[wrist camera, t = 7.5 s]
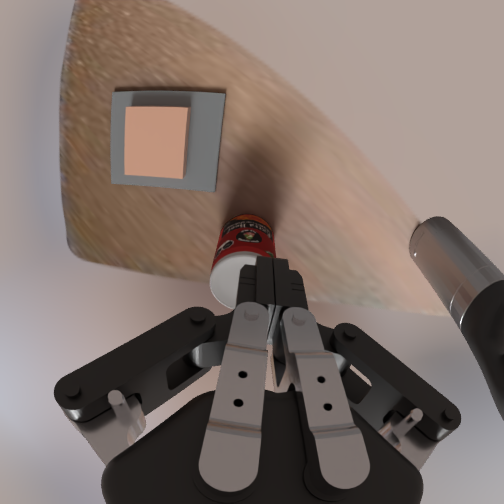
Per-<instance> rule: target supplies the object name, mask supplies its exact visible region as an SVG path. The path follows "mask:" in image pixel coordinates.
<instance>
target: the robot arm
mask: <svg viewBox="0 0 504 504" xmlns="http://www.w3.org/2000/svg"><path fill="white" fill-rule="evenodd" d="M409 250H410V255H411V258H412V259H413V261H414V262H415V263H416V265H417V266H418V268H419V269H420V270H421V272H422V273H423V275H424V276H425V278H426V279H427V280H428V282H429V283H430V285H431V286H432V288H433V289H434V290H435V292H436V293H437V295H438V296H439V298H440V299H441V301H442V302H443V304H444V306H445V307H446V309H447V310H448V312H449V313H450V315H451V316H452V318H453V319H454V321H455V323H456V324H457V326H458V327H459V329H460V331H461V332H462V334H463V336H464V337H465V339H466V341H467V343H468V345H469V347H470V349H471V350H472V352H473V354H474V356H475V358H476V360H477V362H478V364H479V366H480V368H481V370H482V372H483V374H484V377H485V379H486V382H487V384H488V387H489V389H490V392H491V394H492V397H493V399H494V402H495V404H496V407H497V409H498V411H499V413H500V415H501V416H502V419H503V420H504V275H503V273H501V271H500V270H499V269H498V268H497V267H496V266H495V265H494V264H493V263H492V262H491V261H490V260H489V259H488V258H487V257H486V256H485V255H484V254H483V253H482V252H481V251H480V250H479V249H478V248H477V247H476V246H475V245H474V244H473V243H472V242H471V241H470V240H469V239H468V238H467V237H466V236H465V235H464V234H463V233H462V232H461V231H460V230H459V229H458V228H456V227H455V226H454V225H453V224H452V223H451V222H450V221H449V220H447V219H446V218H444V217H432V218H430V219H428V220H426V221H424V222H423V223H422V224H421V225H420V226H419V227H418V228H417V229H416V231H415V232H414V234H413V236H412V238H411V241H410V247H409ZM303 285H304V284H303V279H302V276H301V275H300V274H299V273H298V271H296V270H289V265H288V259H281V258H274V257H273V258H272V257H266V256H258V255H257V257H256V262H255V265H248V264H245V265H244V266H243V267H242V268H241V269H240V274H239V282H238V289H237V296H236V306H235V309H234V310H233V311H232V312H230V313H228V314H225V315H221V316H214V314H213V313H212V312H211V311H210V310H208V309H206V308H203V307H191V308H188V309H186V310H184V311H182V312H181V313H179V314H177V315H175V316H173V317H172V318H170V319H168V320H166V321H165V322H163V323H161V324H159V325H158V326H156V327H154V328H152V329H150V330H148V331H147V332H145V333H143V334H141V335H140V336H138V337H136V338H134V339H132V340H130V341H129V342H127V343H125V344H123V345H121V346H120V347H118V348H116V349H114V350H112V351H111V352H109V353H107V354H105V355H103V356H101V357H99V358H97V359H96V360H94V361H92V362H90V363H88V364H86V365H85V366H83V367H81V368H79V369H77V370H75V371H73V372H72V373H70V374H68V375H66V376H64V377H62V378H61V379H60V380H59V381H58V382H57V384H56V385H55V388H54V397H55V400H56V401H57V403H58V404H59V406H60V407H61V408H62V410H63V411H64V414H65V415H66V417H67V418H68V419H69V421H70V422H71V423H72V424H73V426H74V427H75V428H76V429H77V430H78V431H79V432H80V433H81V434H82V435H83V436H84V437H85V438H86V440H87V441H88V443H89V444H90V445H91V447H92V448H93V449H94V451H95V452H96V454H97V455H98V456H99V457H100V459H101V460H102V462H103V463H104V464H105V465H106V468H105V470H104V472H103V475H102V480H101V488H102V493H103V496H104V499H105V502H106V504H420V501H421V498H422V495H423V480H422V476H421V474H420V472H419V470H420V469H421V467H422V466H423V465H424V463H425V462H426V460H427V459H428V458H429V456H430V455H431V453H432V451H433V450H434V448H435V447H436V445H437V444H438V443H439V442H440V441H442V440H443V439H444V438H445V437H447V436H448V435H449V434H450V433H452V432H453V431H454V430H455V429H456V428H458V426H459V425H460V423H461V414H460V412H459V410H458V408H457V407H456V406H455V405H454V404H452V402H450V401H449V400H448V399H447V398H446V397H444V396H443V395H442V394H440V393H439V392H438V391H437V390H436V389H434V388H433V387H432V386H431V385H429V384H428V383H427V382H426V381H425V380H423V379H422V378H421V377H420V376H418V375H417V374H416V373H415V372H413V371H412V370H411V369H410V368H408V367H407V366H406V365H405V364H403V363H402V362H401V361H400V360H398V359H397V358H396V357H395V356H393V355H392V354H391V353H390V352H388V351H387V350H386V349H385V348H383V347H382V346H381V345H380V344H378V343H377V342H376V341H375V340H373V339H372V338H371V337H370V336H368V335H367V334H366V333H365V332H363V331H362V330H361V329H359V328H358V327H357V326H355V325H353V324H350V323H341V324H338V325H337V326H336V327H335V329H331V328H328V327H325V326H322V325H320V324H318V323H317V322H316V319H315V317H314V315H313V314H312V313H311V312H310V311H308V305H307V300H306V294H305V289H304V286H303ZM267 344H271V345H273V350H272V354H271V358H270V359H271V368H272V376H273V385H274V392H272V391H268V390H265V380H266V368H267V357H268V350H266V345H267ZM351 364H352V365H353V366H354V367H355V368H356V369H357V370H359V371H360V372H361V373H362V374H363V375H364V376H366V377H367V378H368V379H369V380H370V382H371V385H372V387H371V386H370V385H368V384H367V383H366V382H365V381H364V380H362V379H361V378H360V377H359V376H358V375H357V374H356V373H354V372H353V371H352V370H351V369H350V366H351ZM219 365H221V369H220V373H219V378H218V382H217V387H216V390H214V391H209V392H206V393H203V394H201V395H199V396H197V397H195V398H193V399H192V400H191V401H189V402H188V403H187V404H186V405H184V406H183V407H182V408H180V409H179V410H178V411H177V412H175V413H174V414H173V415H171V416H170V417H169V418H168V419H166V420H165V421H164V422H162V423H161V424H160V425H158V426H157V427H156V428H154V429H153V430H152V431H150V432H149V433H148V434H146V435H145V436H144V437H142V438H141V439H139V440H138V441H137V442H135V440H136V439H137V437H138V436H139V435H140V434H141V433H142V432H143V431H144V429H145V427H146V420H145V416H146V415H147V414H149V413H150V412H152V411H153V410H154V409H156V408H157V407H159V406H160V405H162V404H163V403H165V402H166V401H168V400H169V399H171V398H172V397H173V396H175V395H176V394H178V393H179V392H181V391H182V390H183V389H185V388H186V387H188V386H189V385H190V384H192V383H193V382H194V381H196V380H197V379H199V378H200V377H202V376H203V375H204V374H206V373H207V372H208V371H209V370H210V369H211V368H212V366H219ZM134 442H135V443H134Z"/></svg>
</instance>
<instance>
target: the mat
mask: <svg viewBox="0 0 504 504" xmlns="http://www.w3.org/2000/svg"><path fill="white" fill-rule="evenodd" d="M225 96H226V94H223V93H210V92H193V91H124V92H112V108H111V184H126V185H140V186H153V187H165V188H176V189H187V190H197V191H207V192H215V189H216V178H217V168H218V158H219V148H220V139H221V130H222V121H223V113H224V104H225ZM128 106H182V107H191V113H190V124H189V136H188V149H187V163H186V175H185V177H184V178H183V179H177V178H165V177H152V176H137V175H125V168H124V147H125V114H126V107H128Z"/></svg>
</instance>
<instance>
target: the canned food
mask: <svg viewBox="0 0 504 504" xmlns="http://www.w3.org/2000/svg"><path fill="white" fill-rule="evenodd" d="M257 255H258V256H266V257H272V258H273V257H274V258H276V252H275V243H274V235H273V232H272V229H271V227H270V226H269V225H268V224H267V223H266V222H265V221H264V220H263V219H262V218H260V217H258V216H255V215H249V214H246V215H240V216H237V217H235V218H233V219H231V220H230V221H229V222H227V224H226V225H225V226H224V227H223V229H222V231H221V233H220V237H219V241H218V245H217V249H216V253H215V257H214V261H213V265H212V269H211V274H210V288H211V291H212V294H213V295H214V297H215V298H216V299H217V300H218V301H219V302H220V303H222V304H223V305H224V306H226V307H228V308H231V309H235V306H236V296H237V289H238V282H239V274H240V269H241V268H242V267H243V266H244V265H245V264H248V265H255V262H256V257H257Z"/></svg>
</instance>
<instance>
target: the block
mask: <svg viewBox="0 0 504 504" xmlns="http://www.w3.org/2000/svg"><path fill="white" fill-rule="evenodd" d="M190 113H191V107H182V106H128V107H126V114H125V147H124V168H125V175H137V176H152V177H165V178H177V179H183V178H184V177H185V175H186V163H187V149H188V136H189V124H190Z"/></svg>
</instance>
